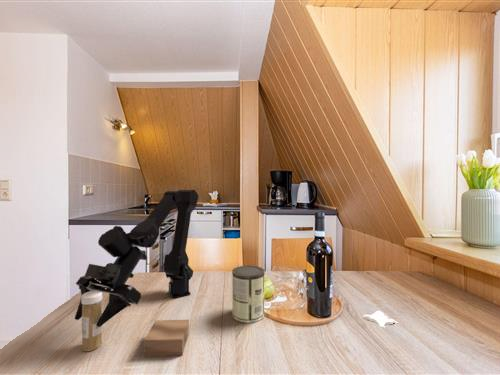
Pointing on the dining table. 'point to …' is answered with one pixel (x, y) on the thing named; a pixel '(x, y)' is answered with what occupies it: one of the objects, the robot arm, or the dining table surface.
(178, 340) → the walnut box
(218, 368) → the dining table surface
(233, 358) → the dining table surface
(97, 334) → the sprinkles bottle
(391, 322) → the acanthus leaf ornament
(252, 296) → the coffee can
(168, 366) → the dining table surface
